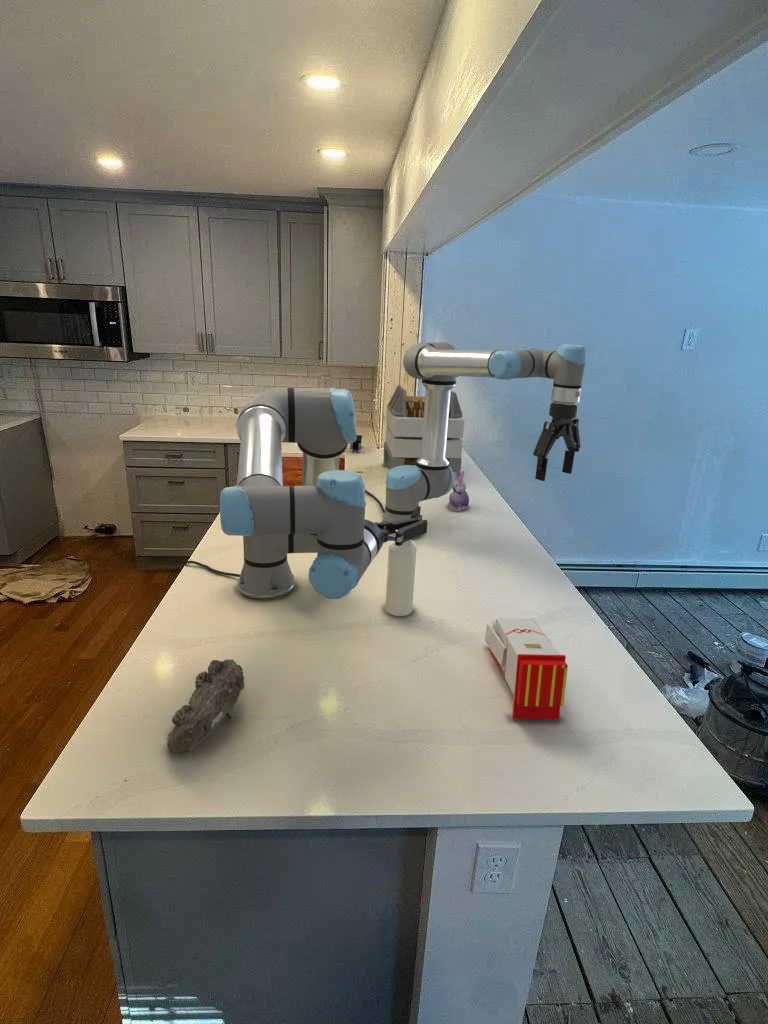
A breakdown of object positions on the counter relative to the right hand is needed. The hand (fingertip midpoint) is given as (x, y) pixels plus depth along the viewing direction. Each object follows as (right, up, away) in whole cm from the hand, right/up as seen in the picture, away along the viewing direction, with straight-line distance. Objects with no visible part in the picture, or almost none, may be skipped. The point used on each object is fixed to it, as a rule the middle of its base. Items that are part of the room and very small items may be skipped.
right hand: (553, 476), depth 165 cm
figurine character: (-65, +24, +148) cm, 163 cm away
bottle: (-45, -36, -15) cm, 60 cm away
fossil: (-82, -49, -56) cm, 111 cm away
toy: (-20, -47, -41) cm, 65 cm away
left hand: (-49, -10, -44) cm, 66 cm away
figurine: (-19, -9, +64) cm, 68 cm away
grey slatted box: (-32, +8, +110) cm, 115 cm away
